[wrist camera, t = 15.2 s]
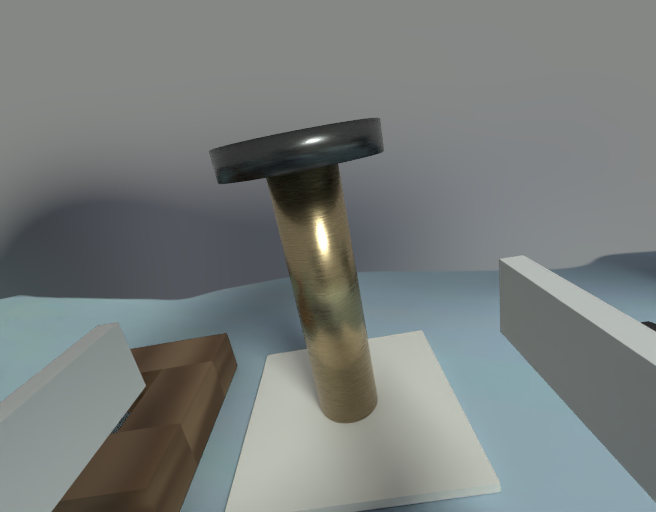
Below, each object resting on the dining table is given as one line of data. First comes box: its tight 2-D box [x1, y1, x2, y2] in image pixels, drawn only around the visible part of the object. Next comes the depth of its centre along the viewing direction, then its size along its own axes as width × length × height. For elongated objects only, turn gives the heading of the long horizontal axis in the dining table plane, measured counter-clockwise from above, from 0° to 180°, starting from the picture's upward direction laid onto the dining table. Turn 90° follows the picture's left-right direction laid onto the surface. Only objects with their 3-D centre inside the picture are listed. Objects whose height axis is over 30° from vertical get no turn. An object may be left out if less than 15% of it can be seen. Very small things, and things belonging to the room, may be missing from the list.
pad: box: [225, 330, 501, 512], centre depth 23 cm, size 14×14×1 cm
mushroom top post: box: [209, 118, 384, 423], centre depth 20 cm, size 9×9×18 cm
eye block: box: [52, 333, 237, 512], centre depth 24 cm, size 14×14×4 cm
